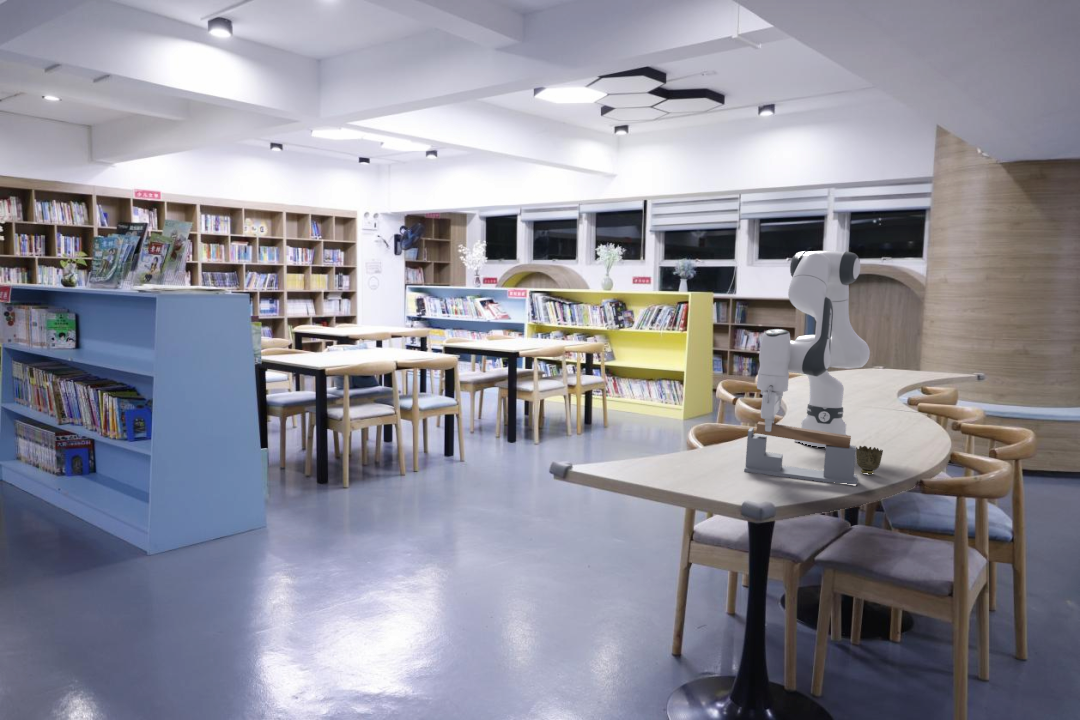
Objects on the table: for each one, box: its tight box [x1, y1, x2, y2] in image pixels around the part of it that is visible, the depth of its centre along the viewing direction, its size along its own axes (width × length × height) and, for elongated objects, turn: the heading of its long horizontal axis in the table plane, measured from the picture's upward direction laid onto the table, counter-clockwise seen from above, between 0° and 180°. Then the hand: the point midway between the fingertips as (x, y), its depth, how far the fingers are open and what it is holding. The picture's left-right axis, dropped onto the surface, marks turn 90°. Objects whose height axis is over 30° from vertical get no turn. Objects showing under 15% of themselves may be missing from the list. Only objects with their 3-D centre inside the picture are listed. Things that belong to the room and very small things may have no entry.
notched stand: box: [743, 427, 858, 485], centre depth 218 cm, size 10×31×12 cm, turn 67°
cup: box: [855, 445, 884, 474], centre depth 223 cm, size 8×7×8 cm
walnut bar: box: [755, 421, 852, 448], centre depth 218 cm, size 4×26×11 cm, turn 67°
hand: (769, 429), depth 221 cm, fingers closed on walnut bar, 4 cm apart
